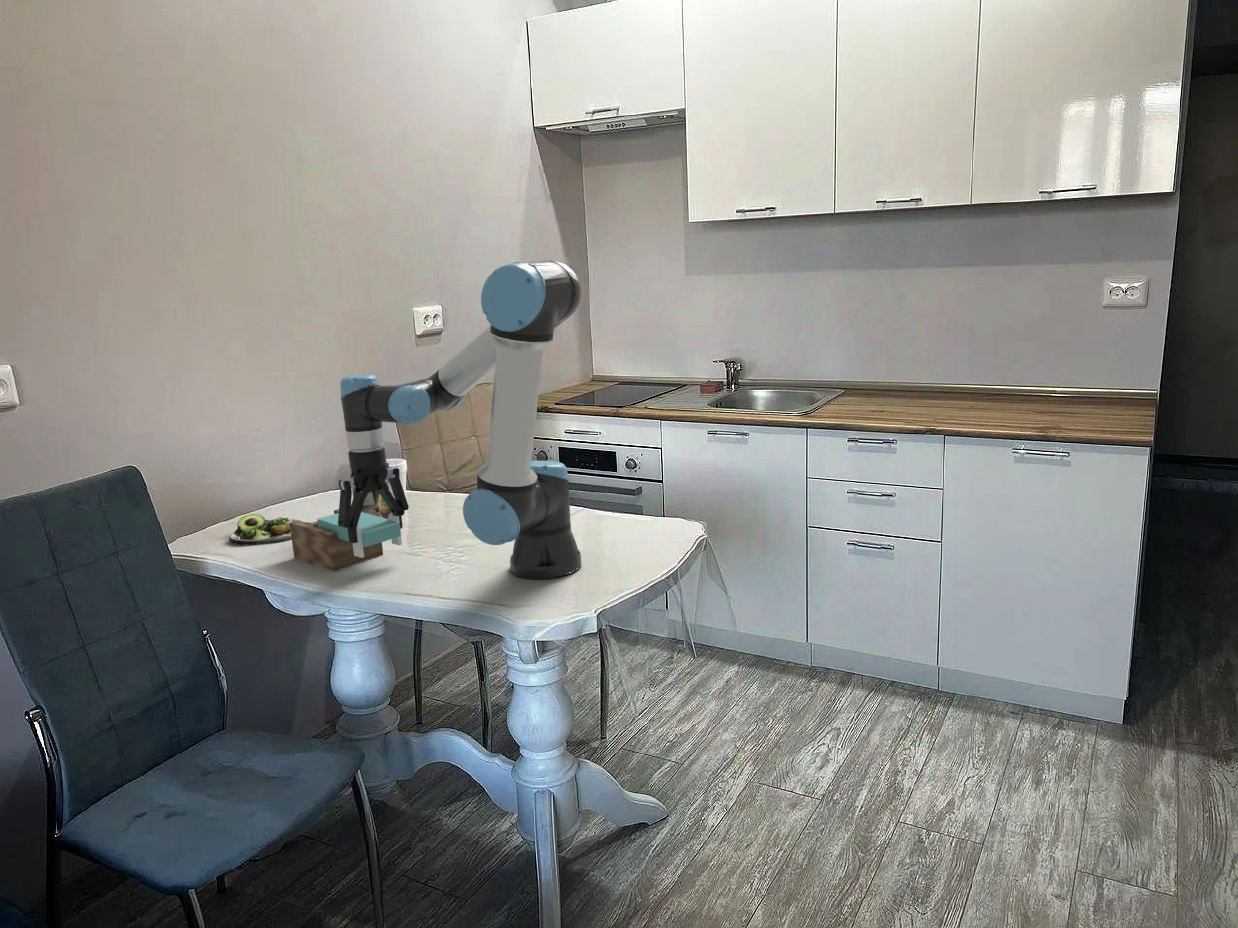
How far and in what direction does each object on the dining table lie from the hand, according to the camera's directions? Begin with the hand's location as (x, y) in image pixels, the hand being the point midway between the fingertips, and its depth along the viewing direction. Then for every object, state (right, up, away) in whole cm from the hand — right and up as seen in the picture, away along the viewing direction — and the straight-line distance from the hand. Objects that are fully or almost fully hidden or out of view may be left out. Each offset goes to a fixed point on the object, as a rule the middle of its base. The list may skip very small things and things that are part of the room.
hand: (378, 549), depth 201 cm
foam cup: (-8, +6, +48) cm, 49 cm away
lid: (-5, +3, +4) cm, 7 cm away
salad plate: (-36, +1, +32) cm, 48 cm away
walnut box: (-12, -3, +11) cm, 17 cm away
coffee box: (-9, +2, +32) cm, 33 cm away
